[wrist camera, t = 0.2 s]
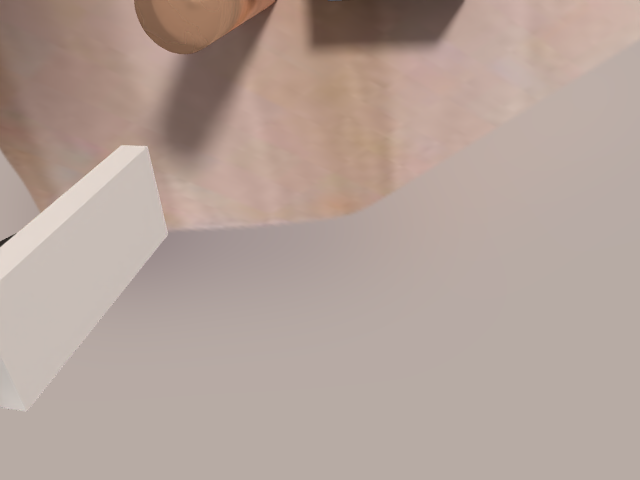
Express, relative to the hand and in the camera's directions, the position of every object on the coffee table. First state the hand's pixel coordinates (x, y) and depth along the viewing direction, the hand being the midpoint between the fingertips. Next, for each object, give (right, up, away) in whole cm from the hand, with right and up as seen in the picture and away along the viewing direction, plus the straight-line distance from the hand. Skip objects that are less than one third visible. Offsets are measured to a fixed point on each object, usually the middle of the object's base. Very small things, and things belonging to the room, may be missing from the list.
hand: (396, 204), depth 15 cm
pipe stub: (-6, +16, +24) cm, 30 cm away
